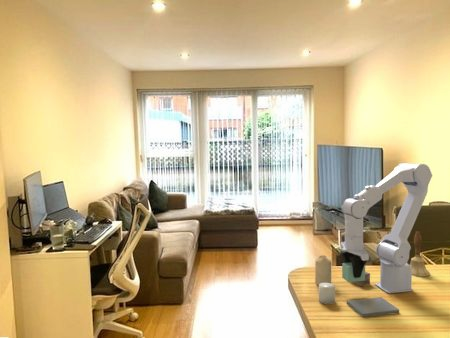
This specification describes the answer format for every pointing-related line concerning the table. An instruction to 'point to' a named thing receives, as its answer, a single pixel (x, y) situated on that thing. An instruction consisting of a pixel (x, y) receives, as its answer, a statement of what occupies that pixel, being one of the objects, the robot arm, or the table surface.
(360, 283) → the walnut block
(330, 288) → the grey cylinder
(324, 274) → the candle
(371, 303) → the slate board
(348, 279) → the teal brick
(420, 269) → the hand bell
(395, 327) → the table surface
